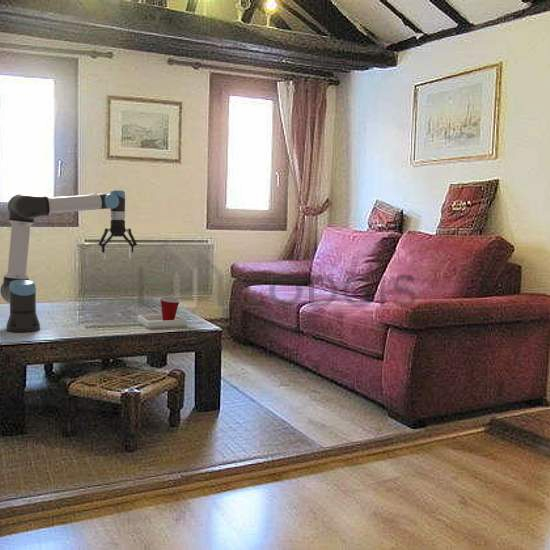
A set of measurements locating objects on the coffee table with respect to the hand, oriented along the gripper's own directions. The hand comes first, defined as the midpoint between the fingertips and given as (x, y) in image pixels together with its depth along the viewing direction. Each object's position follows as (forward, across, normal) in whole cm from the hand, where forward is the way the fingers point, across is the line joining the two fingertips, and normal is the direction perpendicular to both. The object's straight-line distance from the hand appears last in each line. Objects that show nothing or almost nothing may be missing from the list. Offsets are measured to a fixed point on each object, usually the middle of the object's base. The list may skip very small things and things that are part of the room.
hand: (117, 258), depth 349 cm
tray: (+31, -16, +30) cm, 46 cm away
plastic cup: (+30, -20, +28) cm, 46 cm away
